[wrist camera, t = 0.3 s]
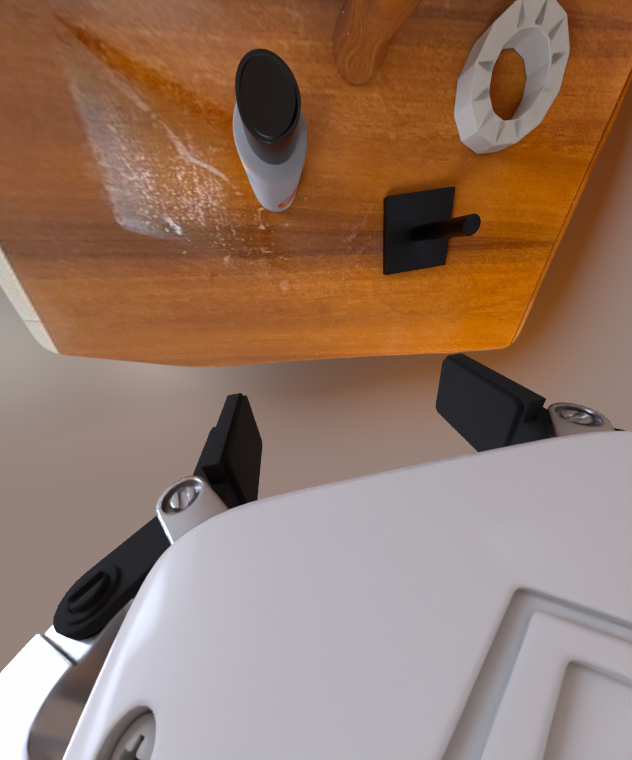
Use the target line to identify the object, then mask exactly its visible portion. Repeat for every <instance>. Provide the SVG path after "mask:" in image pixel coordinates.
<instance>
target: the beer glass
mask: <svg viewBox="0 0 632 760" xmlns="http://www.w3.org/2000/svg"><path fill="white" fill-rule="evenodd" d="M421 1H422V0H345V2H344V4H343V6H342V8H341V10H340V12H339V14H338V17H337V20H336V23H335V26H334V31H333V55H334V60H335V64H336V66H337V69H338V71H339V73H340V74H341V76H342V77H343V78H344V79H345V80H346V81H347V82H348V83H350V84H352V85H355V86H361V85H364V84H367V83H368V82H370V81H371V80H372V79H373V78H374V77H375V75H376V74H377V73H378V71H379V69H380V67H381V65H382V62H383V59H384V56H385V53H386V49H387V46H388V43H389V42H390V40H391V39H392V38H393V36H394V35H395V34H396V33H397V32H398V30H399V29H400V28H401V27H402V26H403V24H404V23H405V22H406V21H407V20H408V18H409V17H410V16H411V14H412V13H413V12H414V10H415V9H416V8H417V6H418V5H419V4H420V2H421Z"/></svg>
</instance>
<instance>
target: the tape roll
mask: <svg viewBox="0 0 632 760" xmlns="http://www.w3.org/2000/svg"><path fill="white" fill-rule="evenodd" d="M508 48H514V49H515V50H516V52H517V53H518V54H519V55H520V56H521V57H522V58H523V59H524V65H525V72H526V83H525V88H524V92H523V97H522V101H521V102H520V104H519V106H518V108H517V110H516V111H515V113H514V115H513V117H512V119H511V120H506V121H503V120H502V119H501V118H500V117H499V116H498V115H496V114H495V113H494V112H493V109H492V104H491V99H490V95H489V89H490V82H491V76H492V70H493V66H494V64H495V62H496V60H497V58H498V56H499V54H500V52H501V50H502V49H508ZM569 52H570V44H569V32H568V20H567V13H566V12H565V10H564V9H563V8H562V7H561V6H560V4H559V3H558V2H557V1H556V0H516V1H515V2H514V3H513V4H512V5H511V6H510V7H509V8H508V9H507V10H506V11H505V12H504V13H503V14H502V15H501V16H500V17H499V18H498V19H497V20H496V21H495V22H494V23H493V24H492V25H491V26H490V27H489V28H488V29H487V30H486V31H485V32H484V34H483V35H482V36H481V37H480V38H479V39H478V40H477V41H476V42H475V43H474V45H473V47H472V50H471V52H470V54H469V56H468V58H467V61H466V63H465V65H464V67H463V69H462V72H461V74H460V76H459V78H458V82H457V91H456V100H455V109H454V118H455V121H456V125H457V128H458V132H459V135H460V139H461V142H462V143H464V144H465V145H466V146H467V147H469V148H470V149H471V150H473V151H474V152H475V153H476V154H484V153H491V152H498V151H500V150H502V149H504V148H506V147H508V146H510V145H513V144H515V143H517V142H518V141H519V140H521V139H522V138H523V137H524V136H525V135H526V134H528V133H529V132H530V131H531V130H532V129H534V128H535V127H536V126H537V125H538V124H540V123H541V121H542V119H543V118H544V116H545V114H546V113H547V111H548V109H549V108H550V106H551V104H552V102H553V101H554V99H555V97H556V96H557V94H558V92H559V91H560V87H561V83H562V79H563V75H564V72H565V68H566V64H567V60H568V56H569Z"/></svg>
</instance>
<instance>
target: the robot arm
mask: <svg viewBox="0 0 632 760" xmlns="http://www.w3.org/2000/svg"><path fill="white" fill-rule="evenodd" d="M545 400H546V398H544V397H542V396H540V395H538V394H536V393H534V392H533V391H531V390H529V389H527V388H525V387H523V386H521V385H519V384H518V383H516V382H514V381H512V380H510V379H508V378H506V377H505V376H503V375H501V374H499V373H497V372H495V371H494V370H492V369H490V368H488V367H486V366H484V365H482V364H481V363H479V362H477V361H475V360H473V359H471V358H469V357H468V356H465V355H464V354H461V353H460V354H454V355H449V356H447V357H446V359H445V360H443V363H442V370H441V376H440V382H439V388H438V394H437V400H436V409H437V411H438V413H439V414H440V415H441V416H442V417H443V418H445V420H446V421H447V422H448V423H449V424H450V425H451V426H452V427H454V429H455V430H457V432H458V433H459V434H461V436H463V437H464V438H465V439H466V441H468V442H469V443H470V445H472V446H473V447H474V448H475V449H476V450H477V451H478V452H477V453H472V454H467V455H462V456H458V457H453V458H448V459H443V460H438V461H433V462H428V463H424V464H419V465H414V466H409V467H404V468H400V469H395V470H390V471H385V472H381V473H376V474H371V475H367V476H362V477H357V478H353V479H348V480H343V481H338V482H334V483H329V484H325V485H320V486H315V487H311V488H307V489H302V490H298V491H294V492H289V493H285V494H280V495H276V496H272V497H268V498H264V499H261V500H257V496H258V486H259V476H260V465H261V453H262V440H261V437H260V434H259V431H258V428H257V425H256V422H255V419H254V416H253V413H252V410H251V407H250V404H249V401H248V398H247V396H243V395H242V394H241V393H239V394H233V395H228V396H227V399H226V401H225V404H224V407H223V409H222V412H221V415H220V417H219V420H218V423H217V425H216V427H213V428H212V429H211V431H210V433H209V436H208V439H207V441H206V444H205V446H204V449H203V451H202V454H201V456H200V458H199V461H198V464H197V466H196V469H195V471H194V474H193V476H188V477H185V478H182V479H180V480H178V481H176V482H175V483H173V484H172V485H171V486H170V487H168V488H167V489H166V490H165V491H164V492H163V494H162V495H161V496H160V498H159V499H158V501H157V504H156V508H155V509H156V515H157V516H156V517H154V518H153V519H152V520H151V521H149V522H148V523H147V524H146V525H145V526H143V527H142V528H141V529H140V530H139V531H137V532H136V533H135V534H133V535H132V536H131V537H130V538H128V539H127V540H126V541H125V542H123V543H122V544H121V545H120V546H118V547H117V548H116V549H115V550H113V551H112V552H111V553H110V554H109V555H107V556H106V557H105V558H104V559H102V560H101V561H100V562H99V563H97V564H96V565H95V566H94V567H92V569H90V570H89V571H87V572H86V573H85V574H84V575H83V576H82V577H81V578H80V579H79V580H77V581H76V582H75V584H74V585H73V586H72V587H71V588H70V589H69V591H68V592H67V593H66V594H65V596H64V598H63V599H62V601H61V602H60V604H59V605H58V608H57V610H56V613H55V615H54V622H53V625H52V626H51V627H50V628H49V629H48V630H47V631H46V632H45V634H44V635H41V634H38V633H37V634H36V635H35V637H34V638H33V639H32V640H31V641H30V642H29V643H28V644H27V645H26V646H25V647H24V648H23V649H22V650H21V651H20V653H19V654H18V655H17V656H16V657H15V658H14V659H13V660H12V661H11V662H10V663H9V664H8V665H7V666H6V667H5V668H4V669H3V671H2V672H1V673H0V760H632V431H625V430H620V429H616V428H613V426H612V425H611V423H610V421H609V420H608V419H607V418H606V417H605V416H603V415H602V414H601V413H599V412H597V411H595V410H593V409H591V408H588V407H585V406H582V405H577V404H572V403H554V404H551V405H550V406H549V407H548V409H545V408H544V407H543V405H544V403H545ZM152 712H153V713H152Z"/></svg>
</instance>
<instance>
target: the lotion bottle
mask: <svg viewBox="0 0 632 760" xmlns="http://www.w3.org/2000/svg"><path fill="white" fill-rule="evenodd" d="M235 96H236V106H235V110H234V115H233V134H234V140H235V144H236V147H237V150H238V153H239V156H240V159H241V161H242V164H243V166H244V168H245V171H246V173H247V176H248V178H249V181H250V183H251V186H252V188H253V191H254V193H255V195H256V197H257V199H258V200H259V202H260V203H261V204H262V205H263V206H264V207H265V208H267V209H268V210H270V211H274V212H280V211H283V210H285V209H287V208H288V207H289V206H290V205H291V204H292V202H293V200H294V198H295V195H296V192H297V188H298V184H299V181H300V177H301V173H302V169H303V165H304V161H305V157H306V152H307V145H308V133H307V126H306V121H305V117H304V114H303V111H302V109H301V98H300V92H299V88H298V85H297V82H296V79H295V77H294V75H293V73H292V72H291V70H290V68H289V67H288V66H287V64H286V63H285V62H284V61H283V60H282V59H281V58H280V57H279V56H278V55H276V54H275V53H273V52H271V51H269V50H266V49H254V50H251V51H250V52H248V53H247V54H246V55H245V56H244V57H243V58H242V60H241V61H240V64H239V66H238V69H237V73H236V78H235Z"/></svg>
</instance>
